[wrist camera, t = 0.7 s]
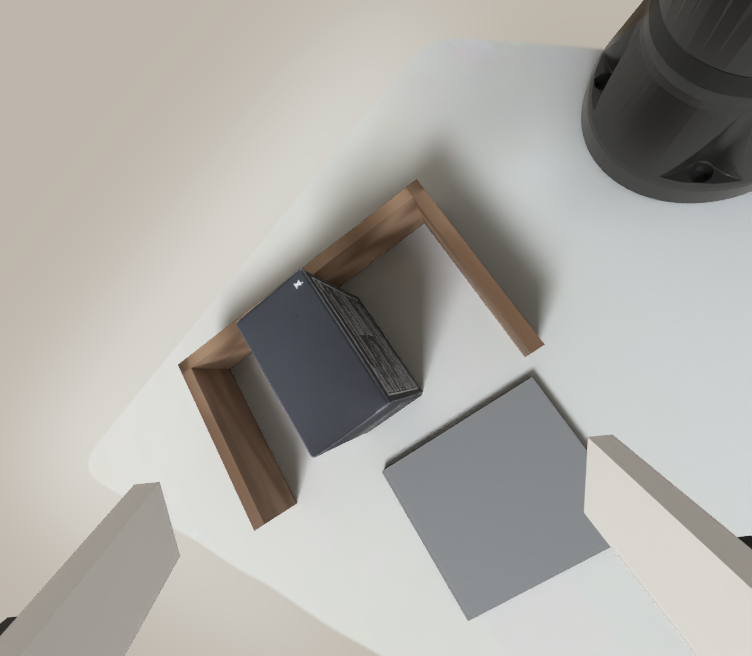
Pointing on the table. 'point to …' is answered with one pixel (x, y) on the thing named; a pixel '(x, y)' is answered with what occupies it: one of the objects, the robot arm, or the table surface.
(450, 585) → the rubber mat
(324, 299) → the small box
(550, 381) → the table surface
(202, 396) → the walnut bay
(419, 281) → the table surface
